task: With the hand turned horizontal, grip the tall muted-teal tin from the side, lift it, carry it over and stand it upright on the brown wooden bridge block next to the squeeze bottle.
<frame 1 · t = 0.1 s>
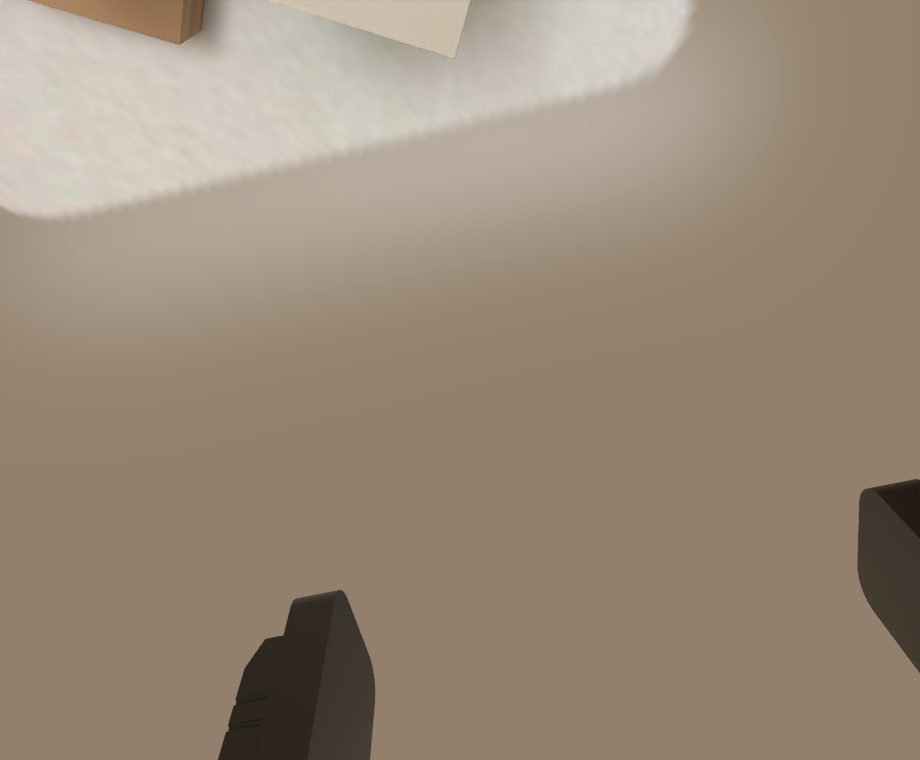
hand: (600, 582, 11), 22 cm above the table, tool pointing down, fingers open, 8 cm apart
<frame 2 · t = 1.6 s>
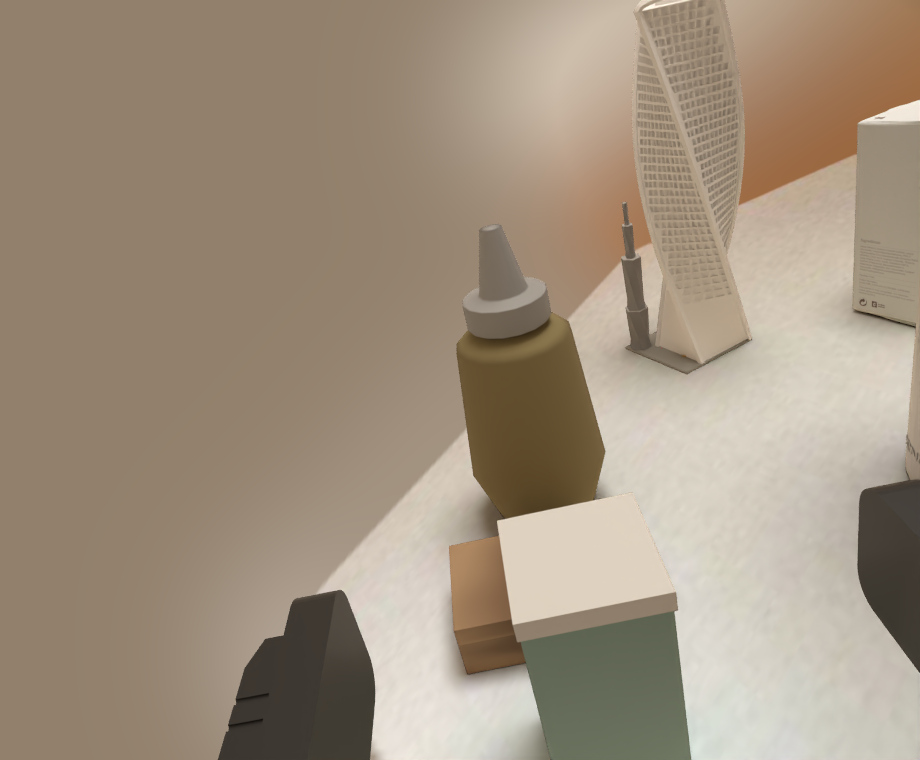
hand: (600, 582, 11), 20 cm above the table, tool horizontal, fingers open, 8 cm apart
skyscraper: (699, 347, 59), on the table
skincare box: (917, 302, 57), on the table
brown wooden bridge block: (538, 612, 38), on the table
tin: (616, 755, 30), on the table
squeeze bottle: (547, 506, 46), on the table
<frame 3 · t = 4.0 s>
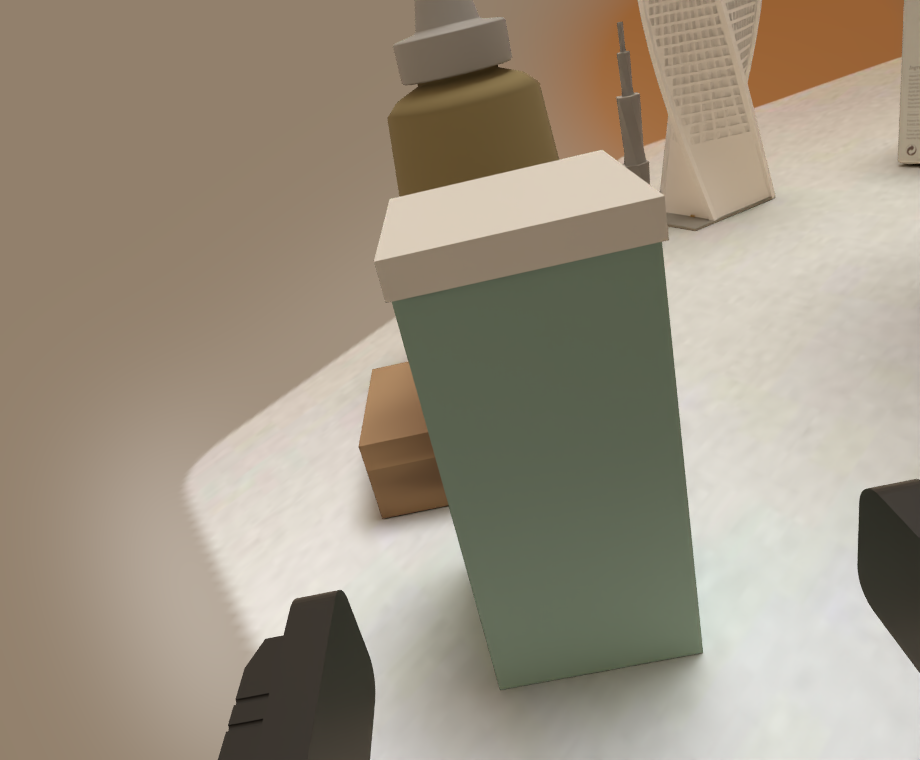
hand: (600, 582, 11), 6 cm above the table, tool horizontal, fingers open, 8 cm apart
skyscraper: (710, 213, 49), on the table
brown wooden bridge block: (489, 450, 28), on the table
tin: (581, 598, 20), on the table
squeeze bottle: (514, 353, 35), on the table
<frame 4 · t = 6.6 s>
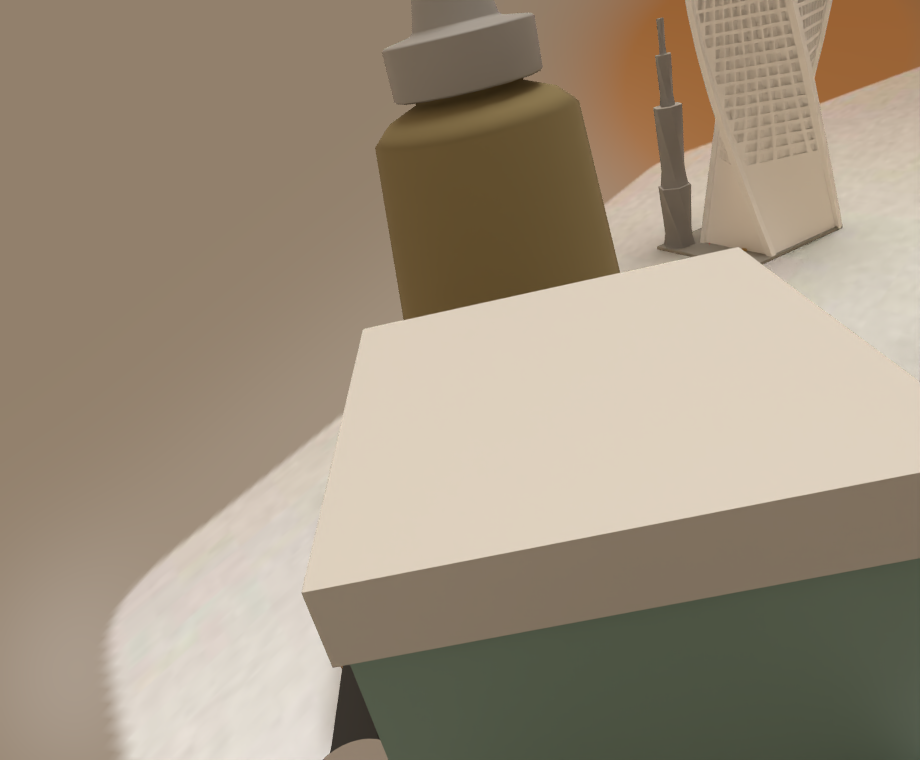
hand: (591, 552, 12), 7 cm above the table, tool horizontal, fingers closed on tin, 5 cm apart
skyscraper: (763, 244, 42), on the table
squeeze bottle: (539, 439, 28), on the table
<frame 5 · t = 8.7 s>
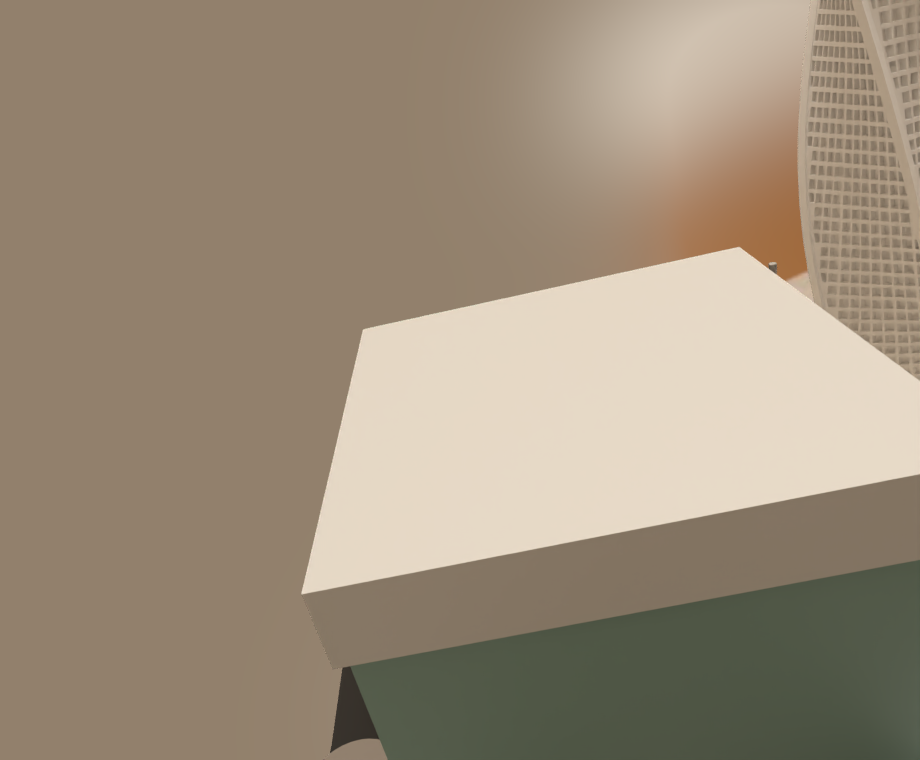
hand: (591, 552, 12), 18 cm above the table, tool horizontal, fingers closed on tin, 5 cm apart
skyscraper: (871, 479, 39), on the table
when the fingers open (11 cm above the table, at t = 10.8 s): tin drops 1 cm, resting on brown wooden bridge block.
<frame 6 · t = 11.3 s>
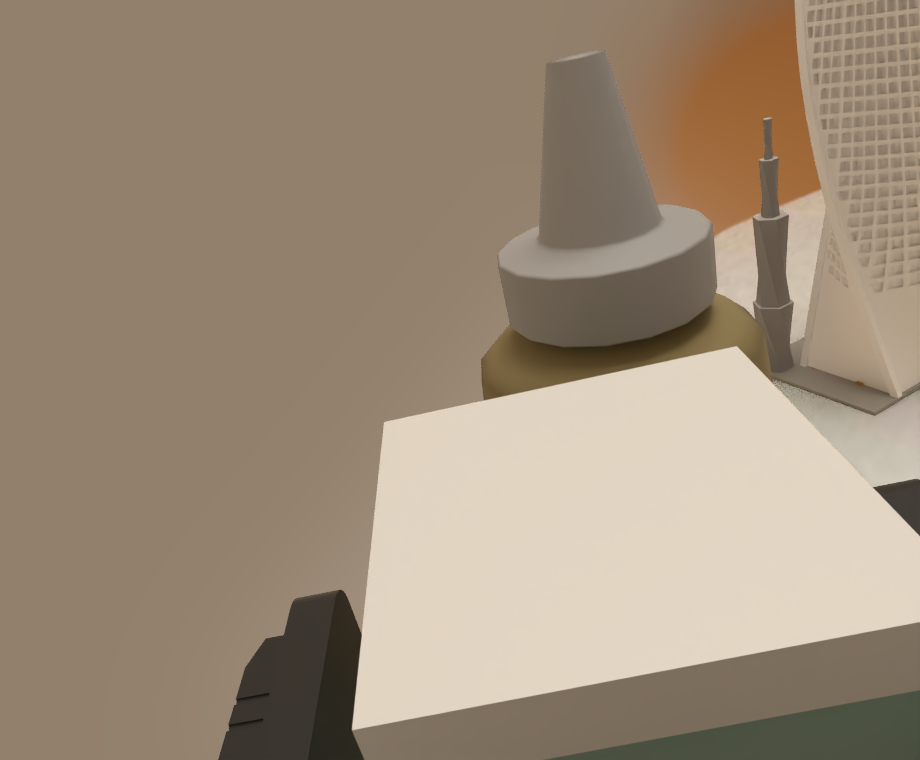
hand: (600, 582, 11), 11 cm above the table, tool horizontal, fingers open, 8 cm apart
skyscraper: (875, 369, 36), on the table
squeeze bottle: (663, 693, 22), on the table
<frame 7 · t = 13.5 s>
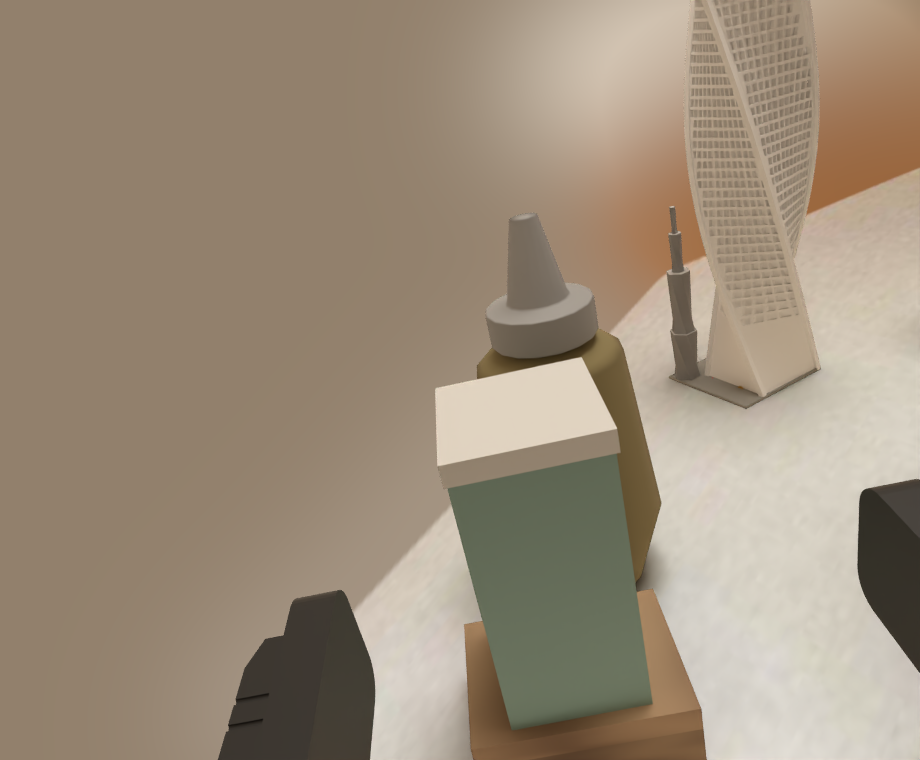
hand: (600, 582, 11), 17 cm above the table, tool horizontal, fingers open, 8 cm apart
skyscraper: (756, 378, 51), on the table
brown wooden bridge block: (581, 716, 29), on the table
tin: (569, 662, 28), point 3 cm above the table, touching brown wooden bridge block
squeeze bottle: (586, 569, 37), on the table
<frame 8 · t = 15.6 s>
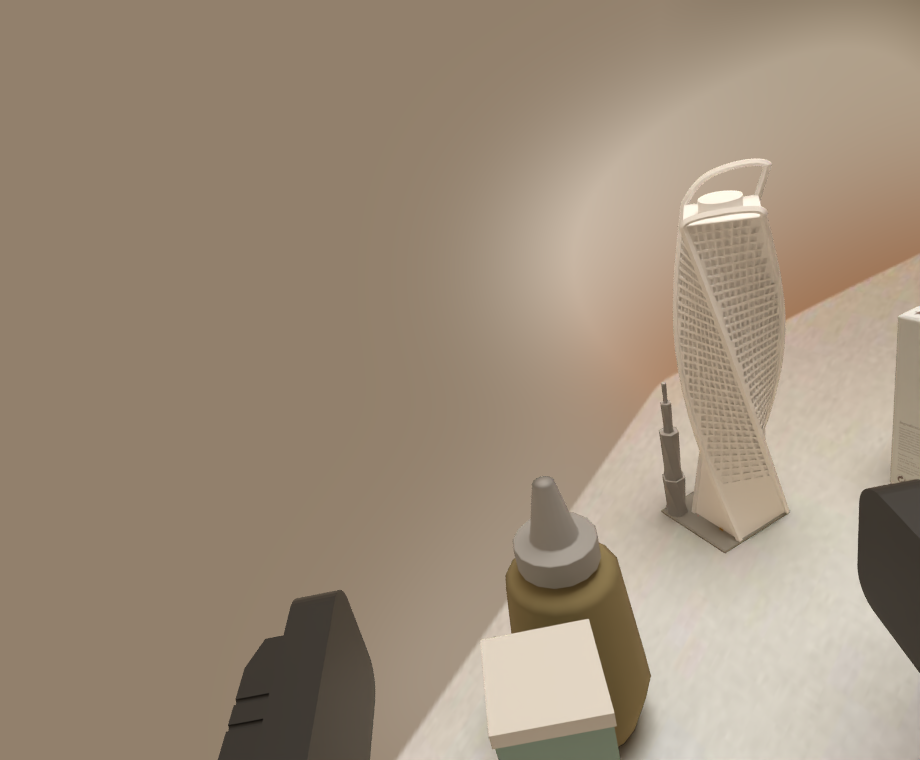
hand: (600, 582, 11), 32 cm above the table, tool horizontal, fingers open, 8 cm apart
skyscraper: (735, 515, 60), on the table
squeeze bottle: (591, 716, 46), on the table
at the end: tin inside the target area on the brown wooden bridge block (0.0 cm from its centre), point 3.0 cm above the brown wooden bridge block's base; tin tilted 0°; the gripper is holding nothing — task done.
